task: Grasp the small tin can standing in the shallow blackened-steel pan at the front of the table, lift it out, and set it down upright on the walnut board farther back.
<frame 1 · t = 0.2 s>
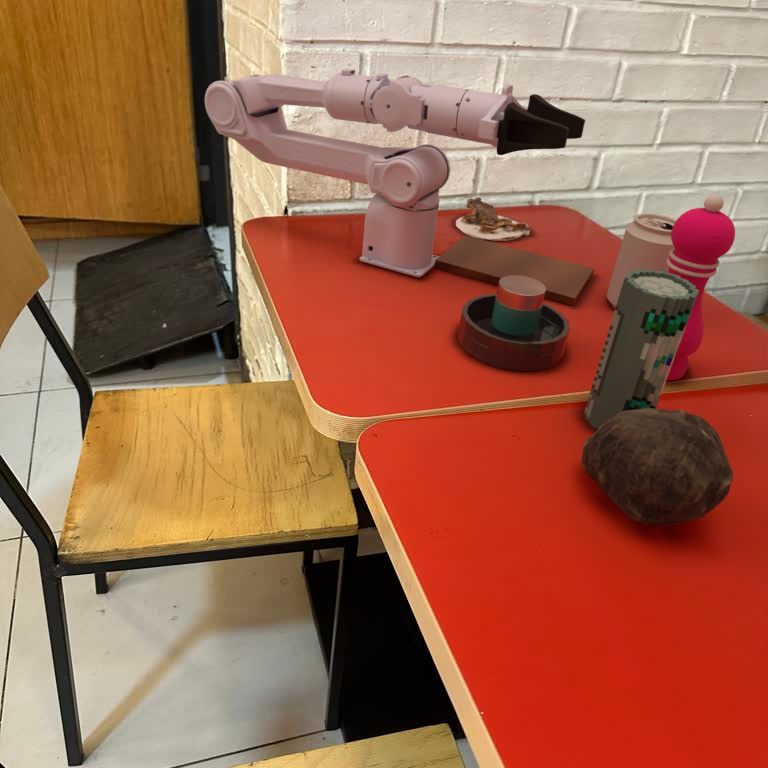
hand: (575, 133, 80), 21 cm above the table, tool horizontal, fingers open, 7 cm apart
tin can: (510, 340, 81), resting on pan
board: (514, 271, 99), on the table
can 2: (615, 422, 69), on the table
rock: (638, 501, 60), on the table
pan: (509, 343, 81), on the table
can: (632, 308, 93), on the table
frog figurine: (488, 229, 114), on the table
pepper mill: (655, 367, 80), on the table
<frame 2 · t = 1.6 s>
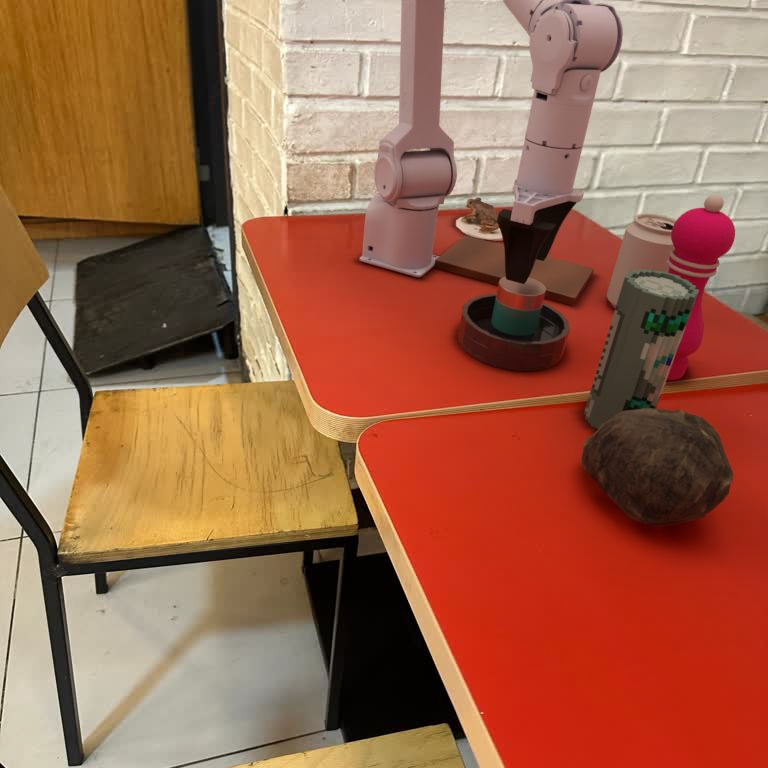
hand: (526, 269, 76), 9 cm above the table, tool pointing down, fingers open, 7 cm apart
nothing on the table moved.
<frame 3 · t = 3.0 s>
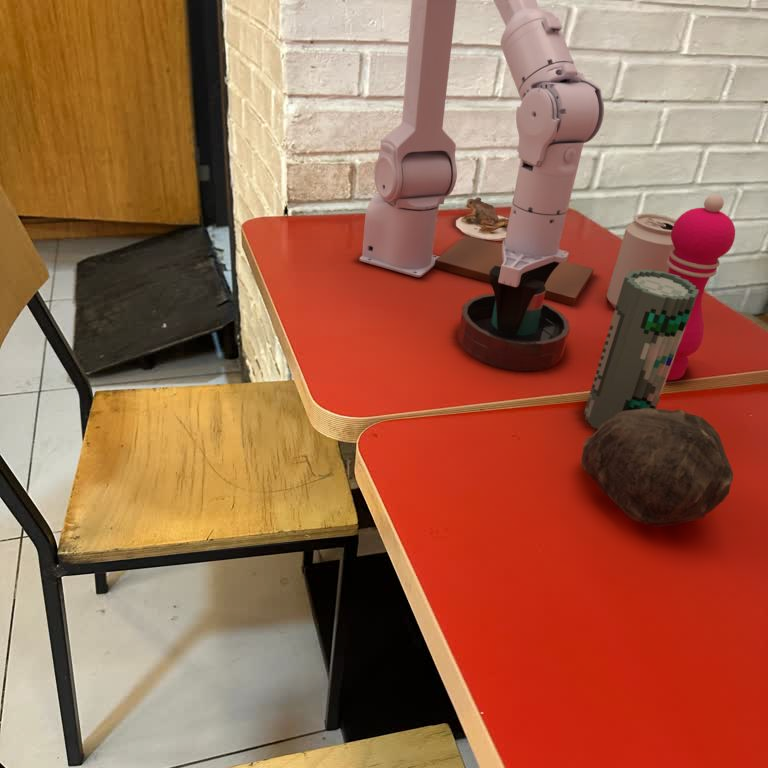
hand: (514, 321, 79), 3 cm above the table, tool pointing down, fingers closed on tin can, 5 cm apart
tin can: (510, 339, 81), point 1 cm above the table, touching gripper, pan
everything else where it was.
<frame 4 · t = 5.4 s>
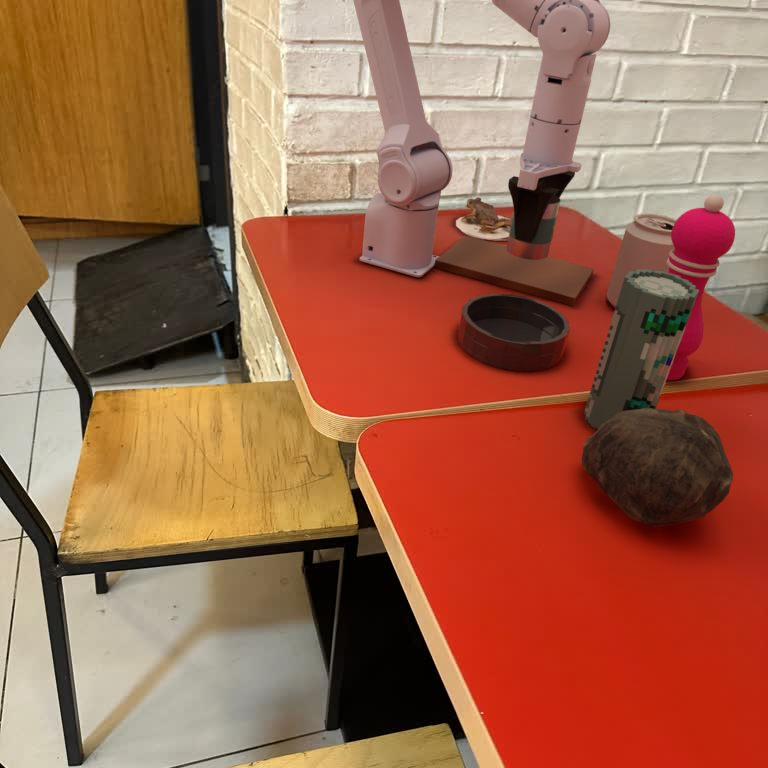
hand: (530, 233, 86), 9 cm above the table, tool pointing down, fingers closed on tin can, 5 cm apart
tin can: (527, 251, 87), point 7 cm above the table, touching gripper
everything else where it was.
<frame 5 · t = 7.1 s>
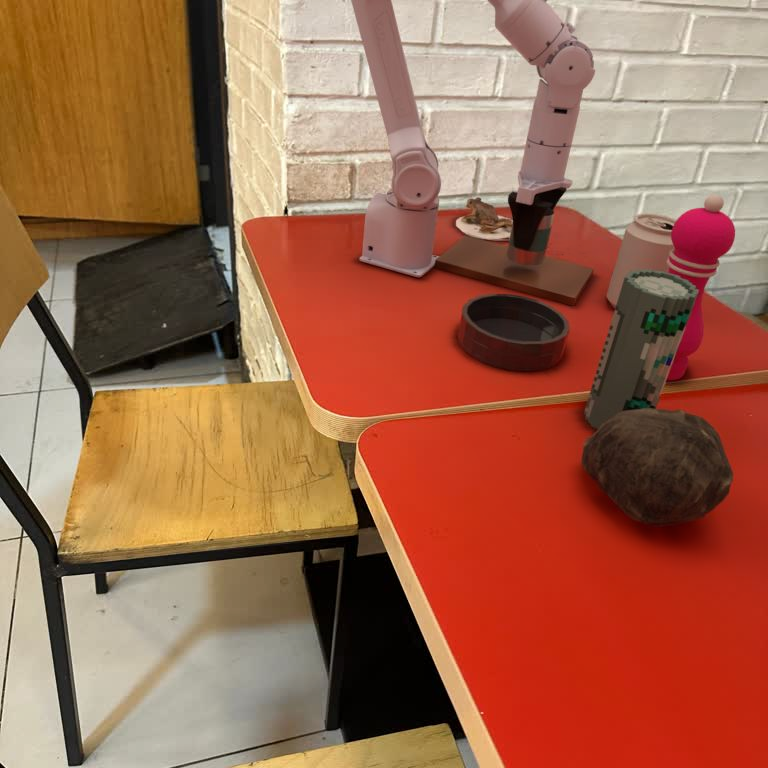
hand: (527, 241, 96), 5 cm above the table, tool pointing down, fingers closed on tin can, 5 cm apart
tin can: (524, 257, 97), point 2 cm above the table, touching gripper
everything else where it was.
when the fingers open (4 cm above the table, at t = 8.1 s): tin can stays where it is, resting on board.
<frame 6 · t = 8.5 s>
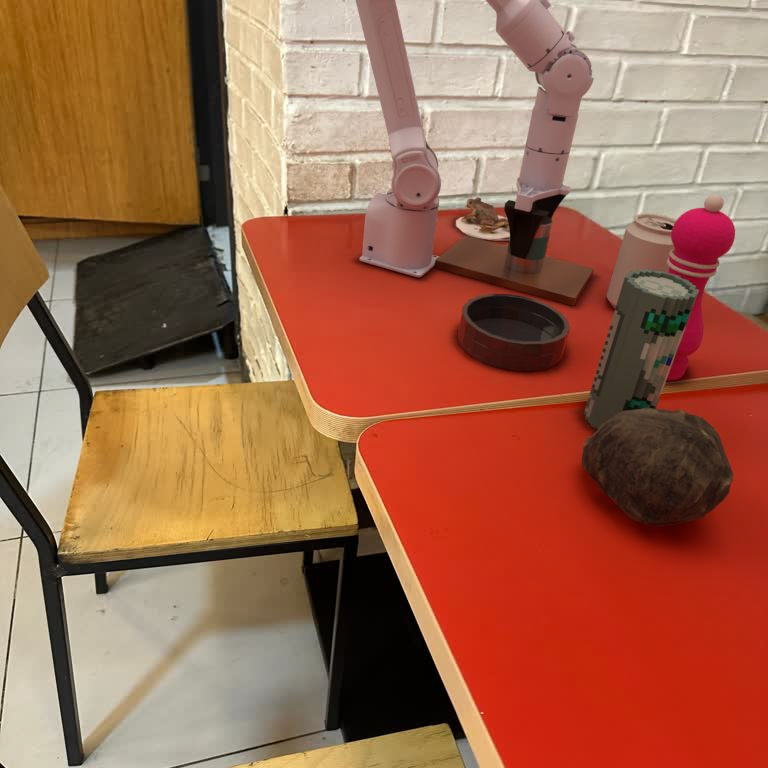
hand: (526, 247, 97), 4 cm above the table, tool pointing down, fingers open, 7 cm apart
tin can: (523, 265, 98), point 1 cm above the table, touching board
everything else where it was.
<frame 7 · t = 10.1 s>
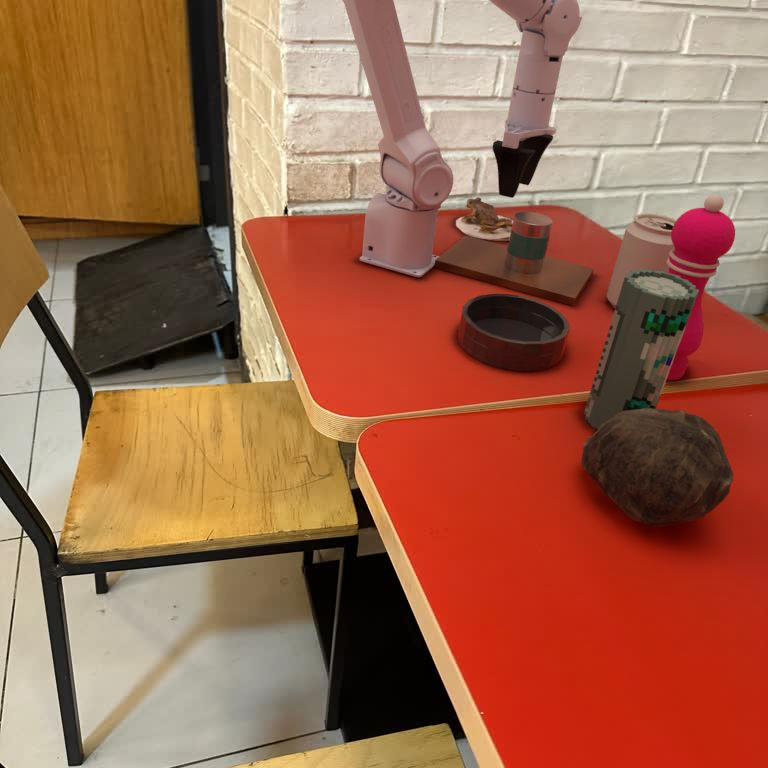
hand: (514, 189, 101), 9 cm above the table, tool pointing down, fingers open, 7 cm apart
nothing on the table moved.
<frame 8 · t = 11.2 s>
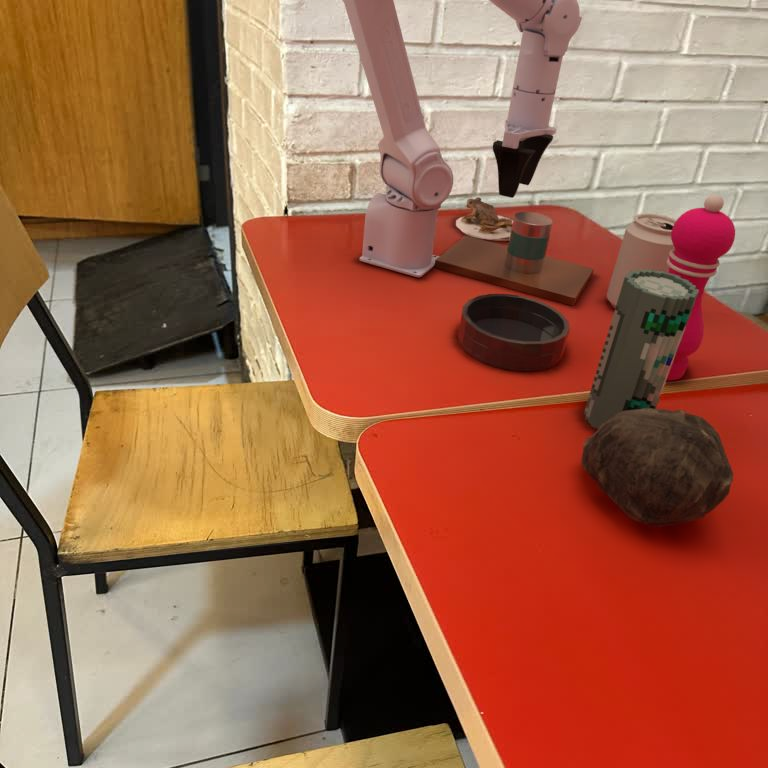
hand: (514, 189, 101), 9 cm above the table, tool pointing down, fingers open, 7 cm apart
nothing on the table moved.
at the end: tin can inside the target area on the board (1.1 cm from its centre), point 1.2 cm above the board's base; tin can tilted 0°; the gripper is holding nothing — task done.
